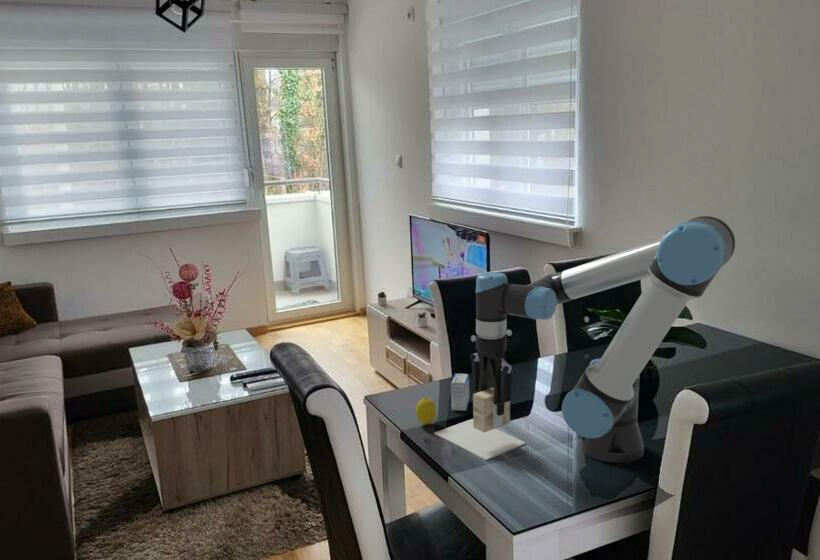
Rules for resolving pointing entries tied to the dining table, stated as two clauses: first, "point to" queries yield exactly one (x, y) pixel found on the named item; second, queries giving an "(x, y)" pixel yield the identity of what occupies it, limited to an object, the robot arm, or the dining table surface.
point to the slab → (487, 410)
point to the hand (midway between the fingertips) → (491, 422)
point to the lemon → (426, 411)
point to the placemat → (479, 440)
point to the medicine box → (460, 392)
